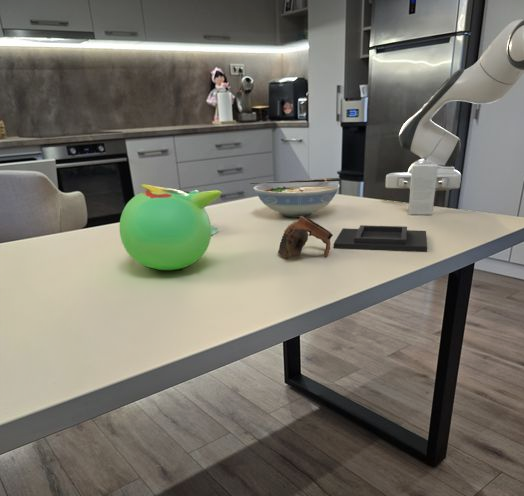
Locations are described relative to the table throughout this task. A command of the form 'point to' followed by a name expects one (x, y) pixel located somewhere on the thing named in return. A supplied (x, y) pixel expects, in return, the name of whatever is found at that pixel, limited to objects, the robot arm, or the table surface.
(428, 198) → the cosmetic box
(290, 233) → the brown arched part
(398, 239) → the dock pad
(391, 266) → the table surface
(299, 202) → the ramen bowl
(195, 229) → the toy bird
